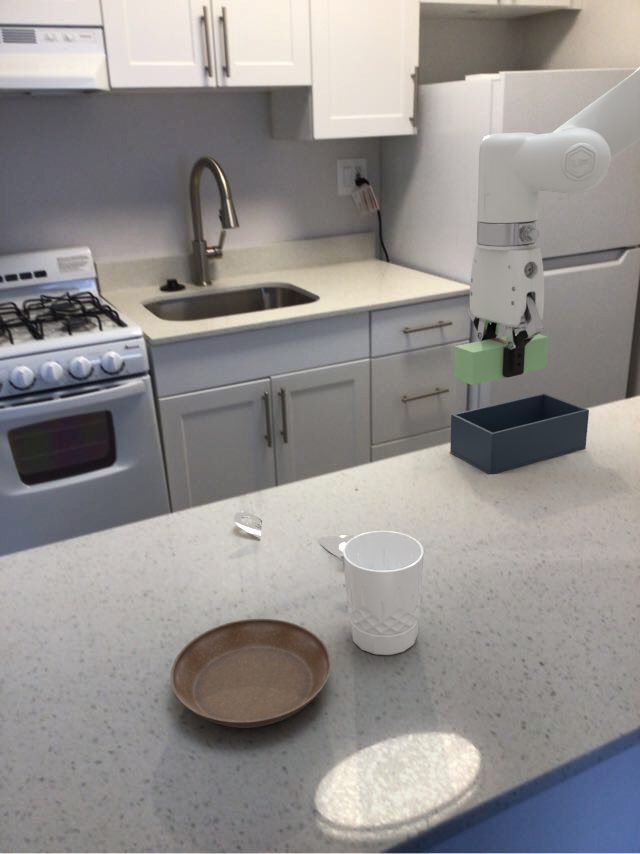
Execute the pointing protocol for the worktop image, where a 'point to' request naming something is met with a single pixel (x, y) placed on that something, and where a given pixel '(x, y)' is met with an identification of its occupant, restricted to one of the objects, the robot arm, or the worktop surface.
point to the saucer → (251, 672)
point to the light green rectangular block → (495, 359)
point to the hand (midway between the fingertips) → (501, 369)
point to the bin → (518, 432)
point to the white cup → (383, 590)
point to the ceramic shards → (330, 543)
